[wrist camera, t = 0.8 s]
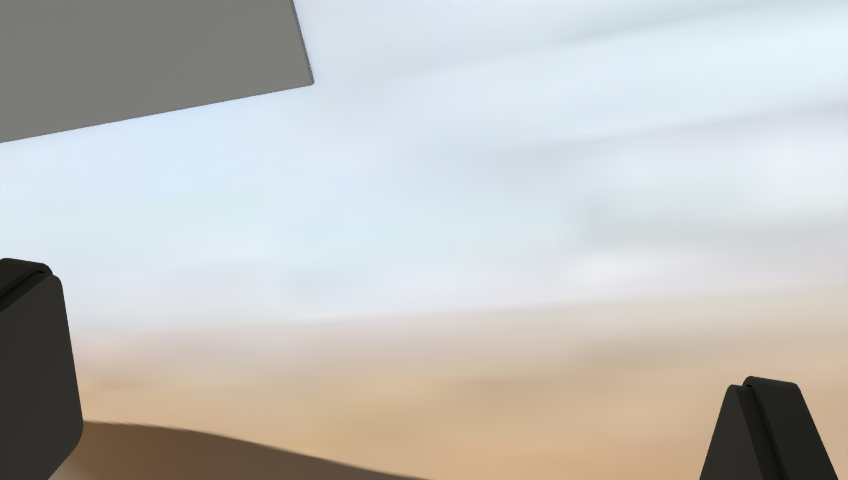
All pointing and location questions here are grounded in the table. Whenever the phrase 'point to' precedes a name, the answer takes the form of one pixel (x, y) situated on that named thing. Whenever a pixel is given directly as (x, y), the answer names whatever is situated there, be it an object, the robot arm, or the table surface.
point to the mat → (139, 58)
